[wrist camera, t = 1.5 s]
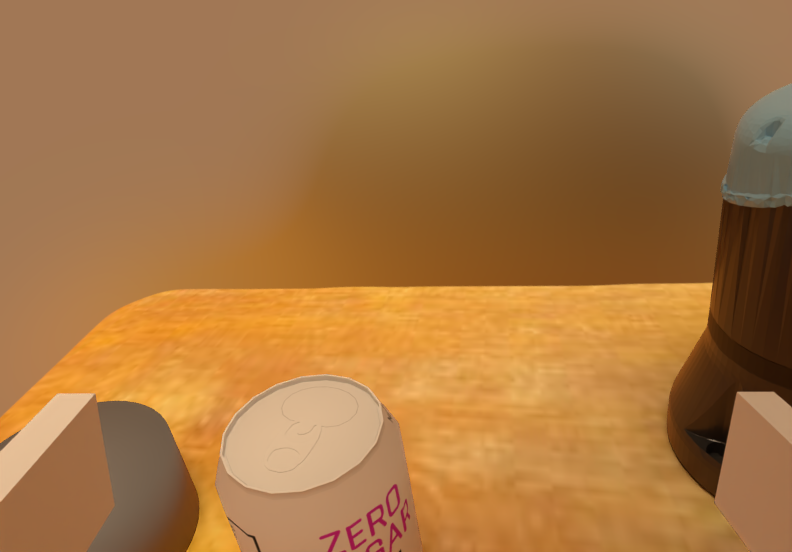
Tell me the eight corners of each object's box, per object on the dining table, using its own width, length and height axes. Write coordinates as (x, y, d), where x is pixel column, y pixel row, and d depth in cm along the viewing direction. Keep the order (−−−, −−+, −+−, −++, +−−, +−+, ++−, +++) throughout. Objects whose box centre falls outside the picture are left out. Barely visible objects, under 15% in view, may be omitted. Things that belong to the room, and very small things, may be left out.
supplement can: (328, 549, 39) (270, 356, 31) (456, 584, 36) (425, 380, 28) (257, 681, 33) (163, 480, 25) (404, 740, 29) (346, 528, 22)
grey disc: (95, 445, 50) (65, 387, 47) (239, 482, 45) (215, 419, 42) (-72, 606, 39) (-124, 544, 36) (90, 680, 34) (44, 615, 31)
